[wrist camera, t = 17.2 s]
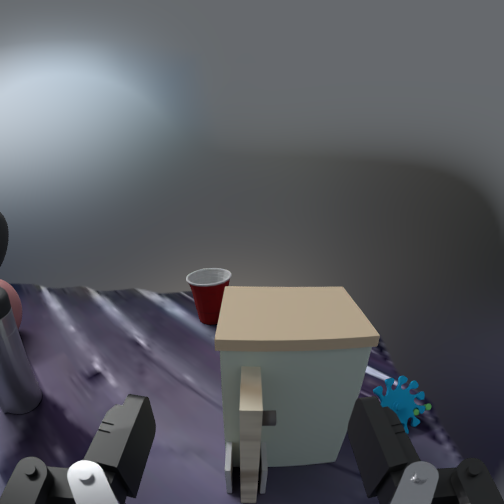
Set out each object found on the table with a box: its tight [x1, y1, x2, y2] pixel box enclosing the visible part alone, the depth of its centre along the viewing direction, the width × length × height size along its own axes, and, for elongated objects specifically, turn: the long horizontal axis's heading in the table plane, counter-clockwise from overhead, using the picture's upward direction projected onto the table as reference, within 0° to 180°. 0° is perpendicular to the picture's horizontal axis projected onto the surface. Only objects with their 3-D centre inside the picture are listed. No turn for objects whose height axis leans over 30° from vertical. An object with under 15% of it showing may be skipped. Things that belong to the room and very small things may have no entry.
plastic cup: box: [186, 268, 232, 325], centre depth 71 cm, size 11×11×12 cm
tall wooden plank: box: [239, 366, 276, 503], centre depth 26 cm, size 6×3×18 cm, turn 0°
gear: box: [373, 376, 431, 434], centre depth 38 cm, size 11×6×10 cm
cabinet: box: [215, 286, 380, 494], centre depth 32 cm, size 17×15×21 cm
